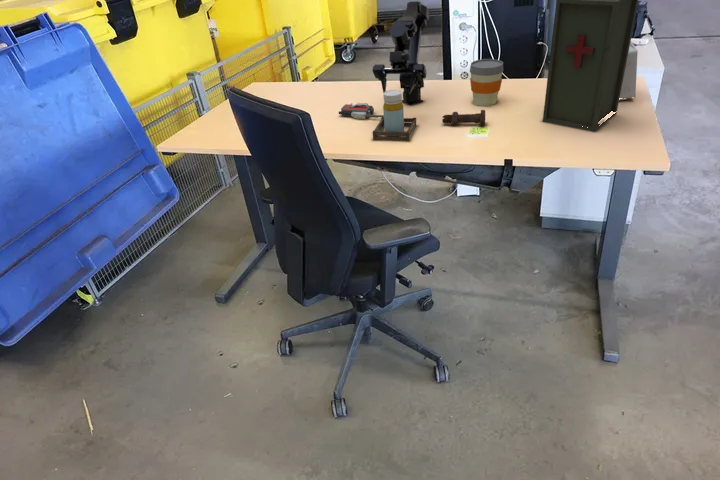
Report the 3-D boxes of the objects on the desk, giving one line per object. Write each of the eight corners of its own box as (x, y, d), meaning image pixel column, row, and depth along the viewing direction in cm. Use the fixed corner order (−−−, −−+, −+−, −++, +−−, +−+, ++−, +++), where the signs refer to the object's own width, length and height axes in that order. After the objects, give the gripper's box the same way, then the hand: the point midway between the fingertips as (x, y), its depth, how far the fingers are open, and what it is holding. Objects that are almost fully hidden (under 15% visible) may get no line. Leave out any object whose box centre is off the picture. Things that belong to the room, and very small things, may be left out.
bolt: (443, 128, 191) (485, 127, 187) (441, 126, 186) (484, 125, 182) (443, 112, 190) (485, 110, 186) (442, 109, 185) (485, 108, 181)
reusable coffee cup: (499, 108, 198) (502, 68, 190) (466, 107, 202) (467, 68, 193) (502, 96, 208) (505, 58, 199) (471, 96, 211) (472, 58, 203)
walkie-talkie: (336, 118, 204) (384, 121, 197) (335, 107, 201) (383, 110, 194) (344, 110, 210) (391, 113, 204) (343, 99, 208) (390, 102, 201)
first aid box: (616, 114, 183) (640, -10, 161) (594, 131, 172) (617, 1, 150) (565, 105, 194) (582, -12, 172) (542, 121, 183) (556, -1, 161)
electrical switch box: (583, 95, 207) (583, 45, 196) (624, 88, 203) (625, 36, 193) (592, 108, 195) (592, 55, 184) (635, 101, 191) (637, 46, 181)
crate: (382, 125, 194) (381, 117, 192) (416, 125, 190) (416, 117, 188) (373, 140, 183) (372, 131, 181) (409, 141, 179) (408, 132, 177)
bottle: (398, 138, 182) (396, 97, 173) (381, 136, 185) (378, 95, 177) (407, 131, 186) (406, 90, 178) (390, 129, 190) (388, 88, 181)
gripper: (371, 41, 181) (365, 82, 178) (424, 40, 176) (419, 82, 173) (378, 58, 192) (373, 97, 189) (428, 57, 187) (423, 97, 184)
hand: (396, 93), depth 184 cm, fingers open, 9 cm apart
